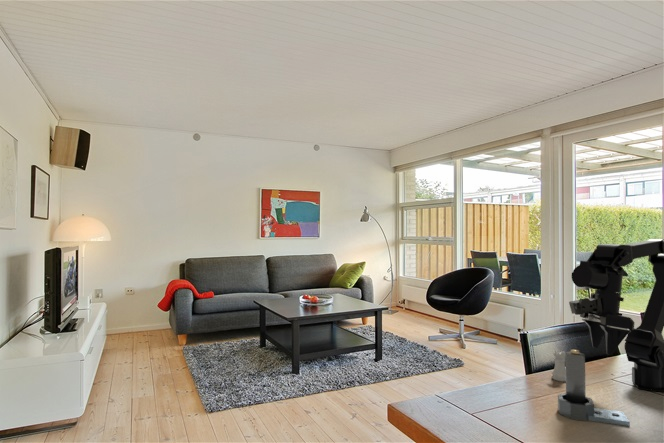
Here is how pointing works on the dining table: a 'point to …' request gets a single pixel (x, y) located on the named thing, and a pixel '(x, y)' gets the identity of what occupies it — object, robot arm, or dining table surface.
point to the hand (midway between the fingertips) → (601, 350)
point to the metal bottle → (575, 377)
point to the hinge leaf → (590, 412)
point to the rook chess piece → (559, 367)
